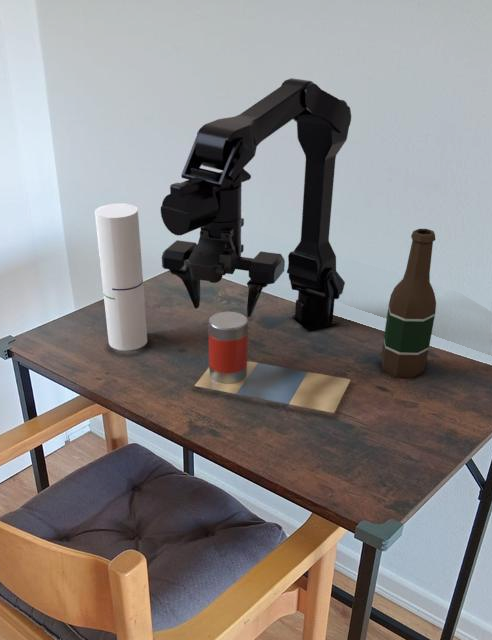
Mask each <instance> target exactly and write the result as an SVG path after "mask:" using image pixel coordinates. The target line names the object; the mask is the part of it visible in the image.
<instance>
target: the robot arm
mask: <svg viewBox="0 0 492 640" xmlns="http://www.w3.org/2000/svg"><path fill="white" fill-rule="evenodd" d="M291 121H294V122H295V123H296V135H297V140H298V143H299V145H300V147H301V149H302V152H303V153H304V156H305V164H304V180H303V194H302V195H303V197H302V211H301V213H302V214H301V229H300V240H299V243H298V244H297V245H296V247H295V248H294V250H293V251H290V252H289V253H288V255H287V259H288V265H287V270H286V273H287V274H288V279H289V282H290V287H291V290H292V291H297V292H298V293H297V295H298V296H297V299H296V300H295V309H294V311H295V312H294V314H293V315H292V319H293V320H294V321H295V322H296V323H298V324H299V325H300V326H301V327H302V328H304V329H305V330H306V331H308V332H311V331H316V330H319V329H320V330H321V329H324V328H328V327H334V326H336V325H338V321H337V320H336V319H334V309H335V300H339V299H340V296H341V295H342V294H343V292H344V288H345V284H346V282H345V281H344V279H343V278H342V276H341V275H340V274H339V272H338V271H337V255H336V253H335V251H334V249H333V247H332V245H331V243H330V229H331V216H332V206H333V205H332V204H333V194H334V193H333V192H334V183H335V170H336V169H335V168H336V158H337V155H338V153H339V152H340V151H341V149H342V147H343V146H344V145H345V143H346V142H347V140H348V136H349V135H348V134H349V129H350V126H351V123H352V111H351V106H349V105H348V102H347V101H346V100H344V99H339V98H338V97H336V96H334V95H333V94H331V93H329V92H327V91H325V90H323V89H321V88H320V86H319V85H318V84H316V83H314V82H313V81H312V80H308V79H307V80H306V79H299V78H292V77H291V78H288V79H286V80H284V81H282V84H281V85H280V86H279V87H277V88H276V89H275V90H273V91H271V92H270V93H269V94H268V95H266V96H265V97H263V98H262V99H260V100H258V101H257V102H255V103H253V105H251V106H250V107H248V108H247V109H245V110H244V111H243V112H241V113H240V114H237V115H235V116H229V117H224V118H223V117H222V118H218V119H215V120H213V121H210V122H207V123H205V124H203V125H202V126H201V127H200V128H199V129H198V131H197V132H196V137H195V138H194V141H193V144H192V146H191V149H190V151H189V154H188V156H187V160H186V162H185V165H184V167H183V170H182V173H181V179H185V181H181V182H174V183H172V184H170V186H169V193H168V194H167V195H166V196H165V197H163V200H162V203H161V206H160V216H161V220H162V222H163V224H164V226H165V227H166V229H167V231H169V232H170V233H171V234H173V235H174V236H183V235H186V234H188V233H190V232H193V231H195V230H198V229H200V231H199V238H198V241H197V242H193V241H186V240H179V239H178V240H175V241H174V242H173V243H172V244H171V245H169V246H168V247H167V248H166V249H165V250H164V251H162V255H161V267H162V269H164V270H169V273H170V274H171V275H175V276H177V277H178V279H179V278H180V280H181V281H182V283H183V284H184V287H185V288H186V292H187V294H188V296H189V298H190V300H191V303H192V305H193V307H194V309H196V310H198V309H199V308H200V304H201V281H205V282H210V283H212V284H216V283H219V282H221V280H222V279H223V276H226V274H227V275H233V274H235V271H236V270H239V271H246V272H248V278H249V280H248V281H247V283H246V286H247V288H248V292H247V304H246V318H251V316H252V314H253V313H254V311H255V308H256V305H257V303H258V300H259V298H260V296H261V293H262V292H263V289H264V288H266V287H268V285H273V284H275V283H276V282H277V281H278V279H280V277H281V275H282V274H283V273H284V272H285V267H286V266H285V265H286V261H285V258H284V257H283V255H282V253H278V252H277V253H276V252H269V251H263V250H262V251H259V252H258V253H257V254H256V255H255V256H254V257H253V258H252V257H245V256H242V253H243V252H244V248H245V247H244V246H245V245H244V244H242V227H243V226H245V218H243V217H242V189H243V188H242V183H244V182H246V181H250V180H251V178H252V175H251V173H249V172H248V171H247V170H246V169H245V167H246V166H247V165H248V164H249V163H250V162H251V161H252V160H253V159H254V157H255V156H256V153H257V147H258V145H260V144H261V143H262V142H263V141H264V140H265V141H266V139H267V138H269V137H270V136H271V135H273V134H275V133H276V132H277V131H279V130H280V129H281V128H283V127H284V126H286V125H287V124H288V123H289V122H291ZM201 166H203V167H206V168H210V169H215V170H218V171H215V170H210V169H206V168H201ZM219 171H220V172H219Z"/></svg>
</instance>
